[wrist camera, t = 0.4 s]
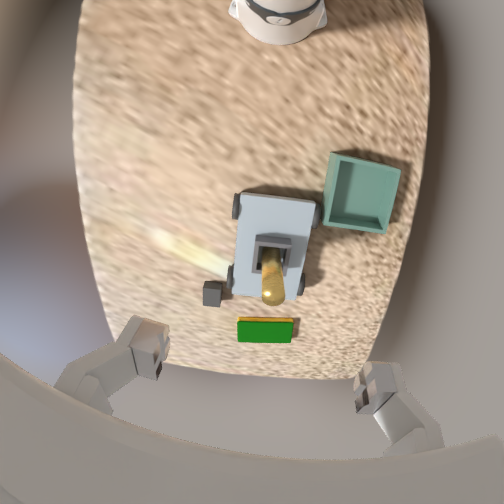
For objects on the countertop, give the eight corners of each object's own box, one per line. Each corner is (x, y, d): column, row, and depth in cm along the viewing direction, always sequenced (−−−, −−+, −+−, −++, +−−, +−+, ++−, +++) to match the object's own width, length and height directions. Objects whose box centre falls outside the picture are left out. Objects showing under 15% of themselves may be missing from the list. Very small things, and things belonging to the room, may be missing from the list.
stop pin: (262, 243, 55) (263, 285, 41) (281, 245, 55) (287, 288, 42) (260, 259, 57) (260, 305, 43) (278, 261, 57) (283, 307, 43)
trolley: (236, 188, 55) (232, 198, 48) (317, 198, 55) (325, 209, 48) (228, 282, 65) (224, 301, 58) (298, 289, 65) (302, 309, 58)
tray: (330, 151, 51) (336, 155, 46) (390, 165, 51) (401, 169, 46) (318, 216, 57) (323, 225, 52) (376, 225, 57) (385, 234, 53)
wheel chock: (205, 280, 65) (202, 287, 62) (222, 282, 65) (220, 289, 62) (205, 297, 67) (202, 305, 64) (221, 299, 67) (219, 307, 64)
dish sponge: (237, 315, 70) (237, 321, 67) (292, 317, 69) (293, 323, 67) (238, 336, 73) (237, 342, 71) (290, 337, 72) (290, 343, 70)
